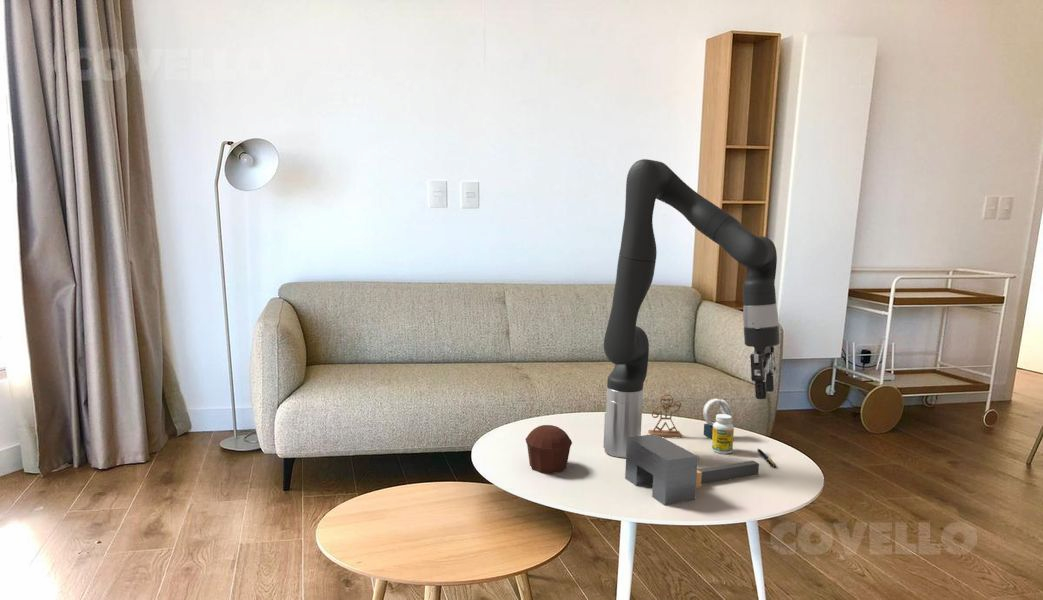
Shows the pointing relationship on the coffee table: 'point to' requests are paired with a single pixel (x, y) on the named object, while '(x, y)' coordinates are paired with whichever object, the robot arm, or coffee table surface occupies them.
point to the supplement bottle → (723, 434)
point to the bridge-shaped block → (662, 468)
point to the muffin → (548, 449)
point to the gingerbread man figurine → (667, 432)
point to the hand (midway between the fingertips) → (765, 395)
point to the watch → (709, 426)
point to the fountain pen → (767, 458)
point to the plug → (726, 472)
